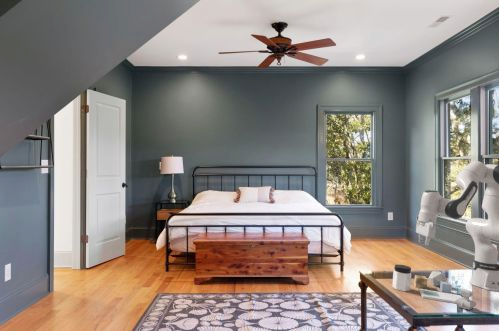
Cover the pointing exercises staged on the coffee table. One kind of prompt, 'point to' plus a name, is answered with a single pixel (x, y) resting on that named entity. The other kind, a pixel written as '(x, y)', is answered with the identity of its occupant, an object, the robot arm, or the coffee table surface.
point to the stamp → (466, 300)
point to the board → (439, 296)
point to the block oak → (420, 282)
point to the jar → (402, 278)
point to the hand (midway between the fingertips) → (423, 243)
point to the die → (437, 278)
